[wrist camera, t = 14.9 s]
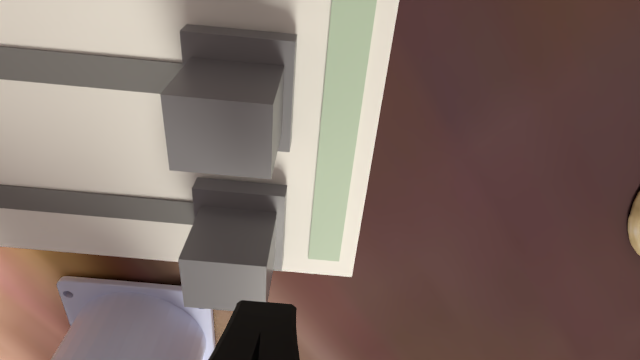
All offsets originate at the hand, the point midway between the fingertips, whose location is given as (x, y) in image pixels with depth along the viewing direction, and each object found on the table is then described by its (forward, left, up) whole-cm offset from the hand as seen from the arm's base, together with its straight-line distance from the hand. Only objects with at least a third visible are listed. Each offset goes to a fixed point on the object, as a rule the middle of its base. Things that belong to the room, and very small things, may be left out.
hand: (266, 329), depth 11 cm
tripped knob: (+3, +2, -8) cm, 8 cm away
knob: (-3, +2, -8) cm, 9 cm away
